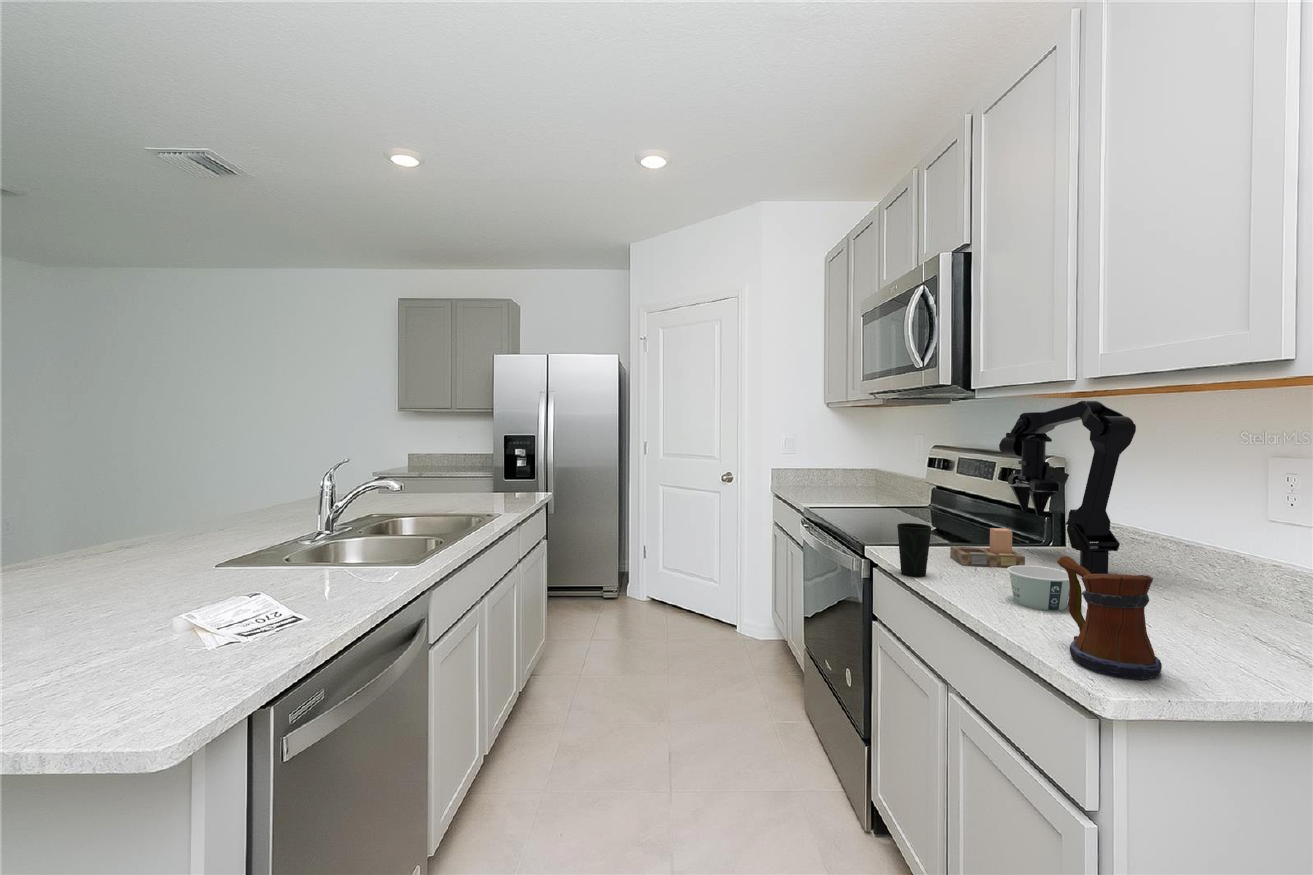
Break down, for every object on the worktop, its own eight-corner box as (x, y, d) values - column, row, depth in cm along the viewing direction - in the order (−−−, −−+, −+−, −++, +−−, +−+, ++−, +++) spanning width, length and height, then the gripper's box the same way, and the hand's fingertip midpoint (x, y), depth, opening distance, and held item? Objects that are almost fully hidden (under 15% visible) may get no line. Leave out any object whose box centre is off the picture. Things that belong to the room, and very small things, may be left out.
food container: (995, 594, 132) (996, 564, 132) (1054, 596, 131) (1055, 566, 131) (1023, 611, 120) (1024, 578, 120) (1088, 613, 119) (1088, 580, 119)
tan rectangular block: (1011, 565, 159) (1012, 531, 159) (995, 564, 160) (995, 530, 159) (1005, 561, 163) (1006, 528, 163) (989, 561, 163) (990, 527, 163)
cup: (889, 572, 151) (890, 524, 150) (912, 569, 154) (913, 522, 153) (913, 579, 144) (914, 529, 143) (937, 576, 147) (938, 527, 146)
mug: (1028, 637, 106) (1030, 551, 105) (1094, 637, 106) (1096, 552, 105) (1103, 681, 88) (1106, 578, 87) (1183, 682, 88) (1186, 579, 87)
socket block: (1025, 568, 155) (1025, 556, 155) (962, 565, 158) (962, 553, 158) (1008, 559, 166) (1009, 547, 165) (950, 557, 168) (950, 545, 168)
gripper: (1082, 460, 159) (1081, 519, 159) (1048, 456, 177) (1047, 509, 178) (1036, 459, 161) (1035, 518, 161) (1007, 455, 179) (1006, 508, 179)
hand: (1031, 513), depth 170 cm, fingers open, 9 cm apart
